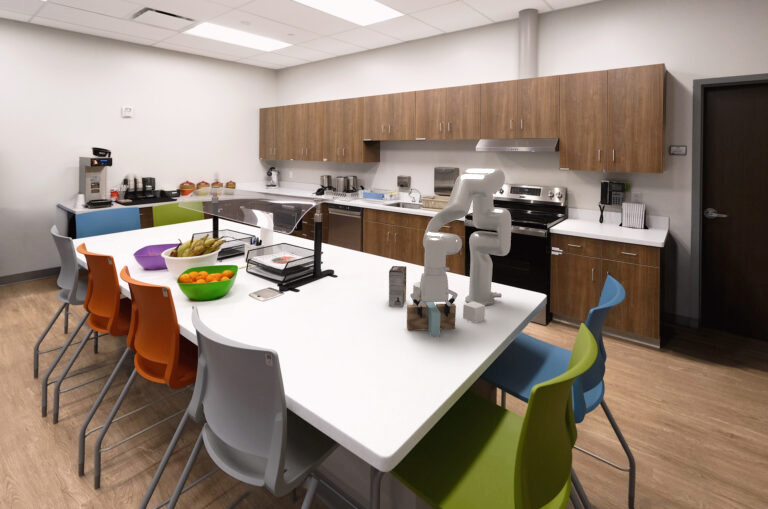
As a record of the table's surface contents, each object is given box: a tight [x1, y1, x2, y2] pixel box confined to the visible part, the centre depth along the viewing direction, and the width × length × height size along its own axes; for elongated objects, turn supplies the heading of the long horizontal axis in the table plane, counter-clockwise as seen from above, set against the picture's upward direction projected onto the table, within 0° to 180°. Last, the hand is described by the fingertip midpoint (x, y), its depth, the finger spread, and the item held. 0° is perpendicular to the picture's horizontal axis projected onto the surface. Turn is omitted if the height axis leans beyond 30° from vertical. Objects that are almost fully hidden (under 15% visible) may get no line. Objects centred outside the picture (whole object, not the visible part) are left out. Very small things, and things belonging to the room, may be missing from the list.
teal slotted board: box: [424, 302, 441, 338], centre depth 166 cm, size 3×16×9 cm, turn 6°
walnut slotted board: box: [406, 302, 457, 331], centre depth 167 cm, size 18×3×9 cm, turn 95°
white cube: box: [462, 302, 486, 324], centre depth 176 cm, size 6×6×6 cm
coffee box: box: [388, 265, 407, 308], centre depth 193 cm, size 9×6×16 cm
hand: (433, 315), depth 162 cm, fingers open, 9 cm apart
